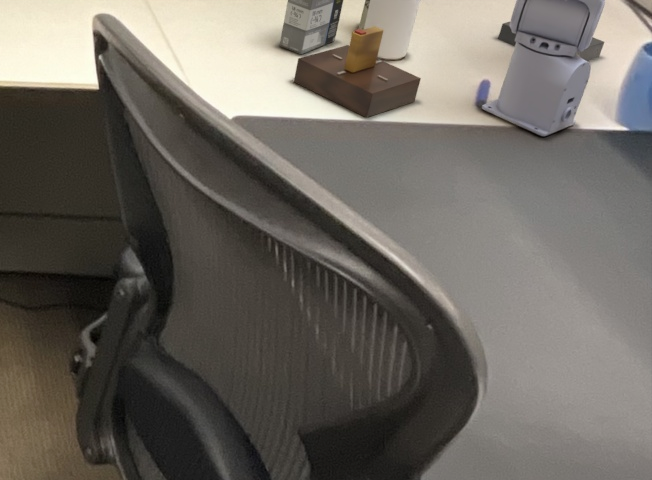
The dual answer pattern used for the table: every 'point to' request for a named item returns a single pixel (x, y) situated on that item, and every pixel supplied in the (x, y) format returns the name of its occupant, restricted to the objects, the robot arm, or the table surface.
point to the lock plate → (356, 82)
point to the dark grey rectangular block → (586, 54)
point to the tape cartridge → (310, 24)
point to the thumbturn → (363, 49)
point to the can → (393, 25)
